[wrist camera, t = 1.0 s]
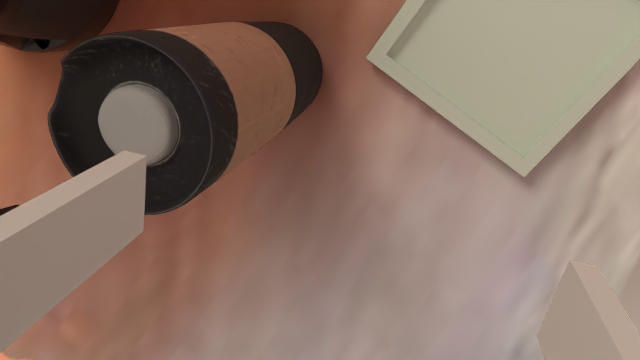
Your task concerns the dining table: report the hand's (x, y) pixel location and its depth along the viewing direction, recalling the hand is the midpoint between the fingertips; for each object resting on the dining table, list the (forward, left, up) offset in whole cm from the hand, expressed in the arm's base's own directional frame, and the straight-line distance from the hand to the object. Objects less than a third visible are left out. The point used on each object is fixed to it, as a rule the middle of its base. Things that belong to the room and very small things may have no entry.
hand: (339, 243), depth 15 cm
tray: (+3, +9, -24) cm, 25 cm away
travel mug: (-9, -3, -24) cm, 26 cm away
